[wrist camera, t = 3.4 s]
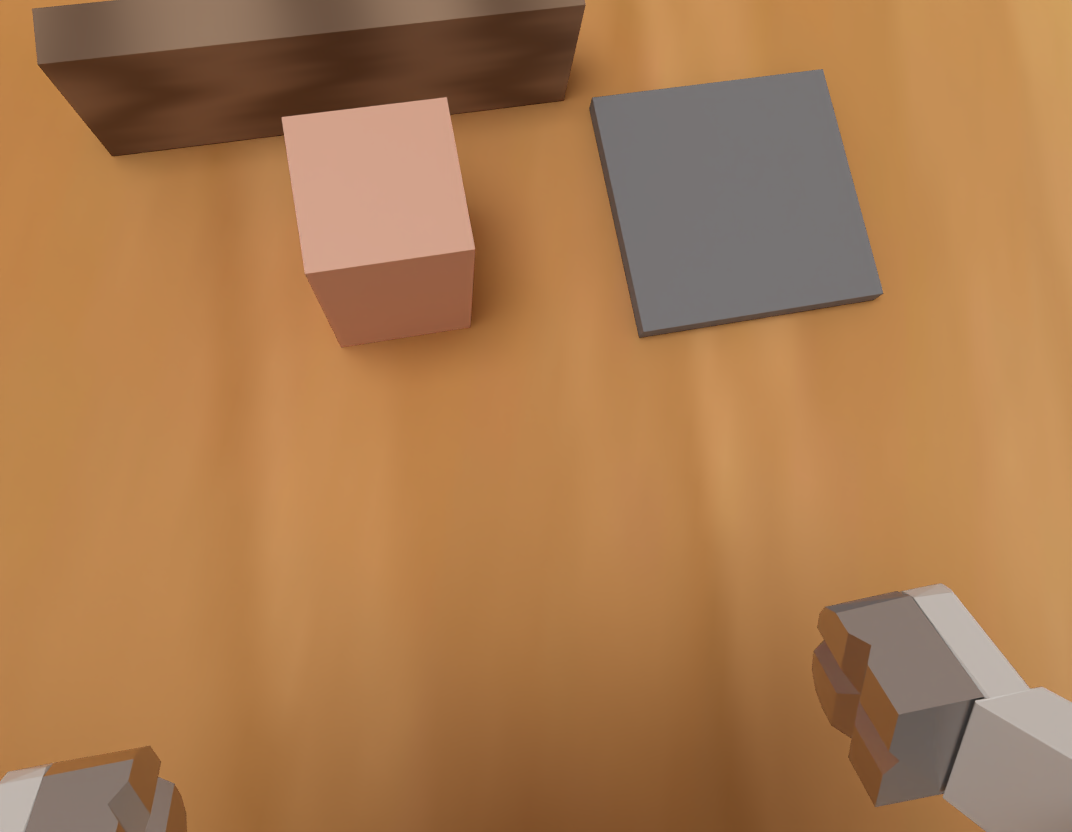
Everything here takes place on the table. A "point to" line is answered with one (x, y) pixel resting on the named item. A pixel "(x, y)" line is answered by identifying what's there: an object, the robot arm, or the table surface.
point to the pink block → (383, 219)
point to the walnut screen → (293, 61)
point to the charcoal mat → (732, 201)
